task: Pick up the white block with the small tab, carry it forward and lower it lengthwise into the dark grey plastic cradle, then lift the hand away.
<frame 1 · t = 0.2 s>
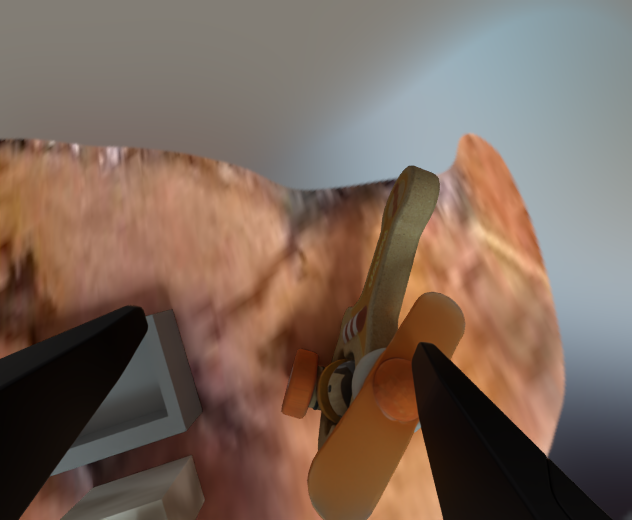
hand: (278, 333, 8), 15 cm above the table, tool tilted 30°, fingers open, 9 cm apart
white block with tab: (150, 492, 22), on the table
toy helicopter: (355, 315, 23), on the table
cradle: (117, 382, 23), on the table
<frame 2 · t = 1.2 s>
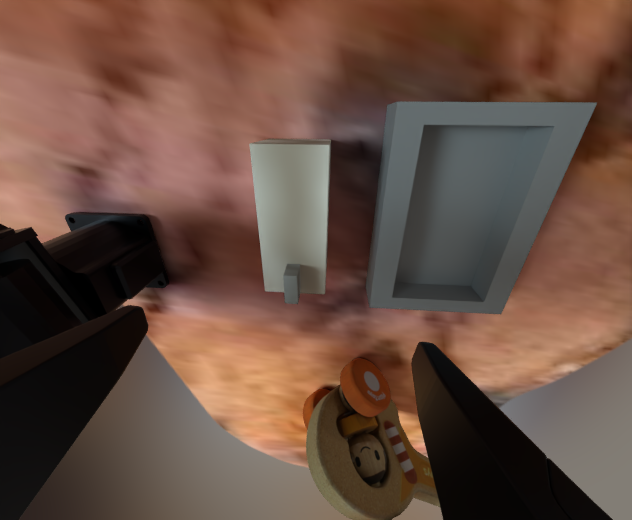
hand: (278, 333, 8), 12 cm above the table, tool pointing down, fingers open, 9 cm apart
white block with tab: (301, 206, 19), on the table
toy helicopter: (384, 400, 29), on the table
cradle: (441, 212, 18), on the table
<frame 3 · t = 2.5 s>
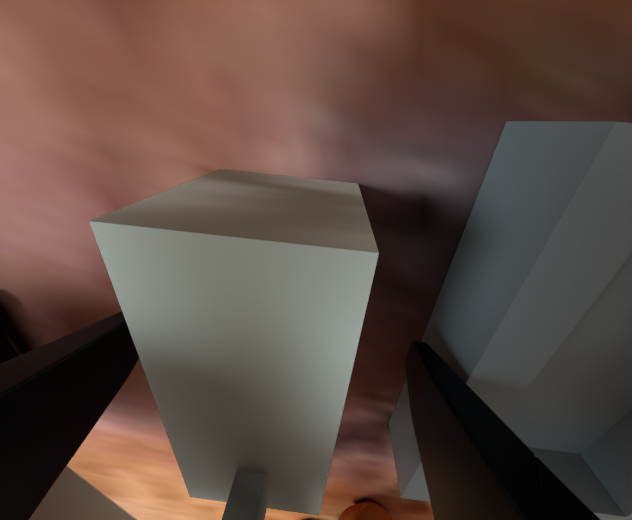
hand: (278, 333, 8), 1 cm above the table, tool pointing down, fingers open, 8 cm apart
white block with tab: (285, 299, 10), on the table
cradle: (559, 339, 9), on the table
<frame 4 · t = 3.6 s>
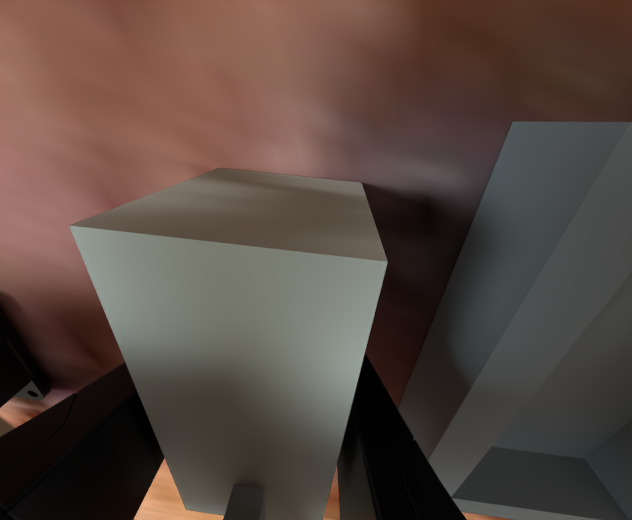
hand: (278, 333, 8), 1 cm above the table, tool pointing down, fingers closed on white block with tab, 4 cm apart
white block with tab: (285, 303, 9), on the table, touching gripper
cradle: (564, 343, 9), on the table
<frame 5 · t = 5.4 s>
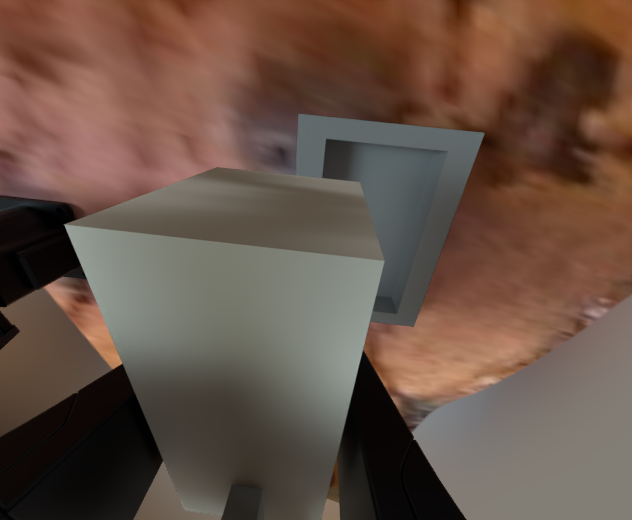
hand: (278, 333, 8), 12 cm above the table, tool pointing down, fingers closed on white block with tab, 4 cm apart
white block with tab: (284, 303, 9), point 10 cm above the table, touching gripper
cradle: (362, 224, 18), on the table
when the fingers open (4 cm above the table, at t = 7.7 s): white block with tab drops 2 cm, resting on cradle.
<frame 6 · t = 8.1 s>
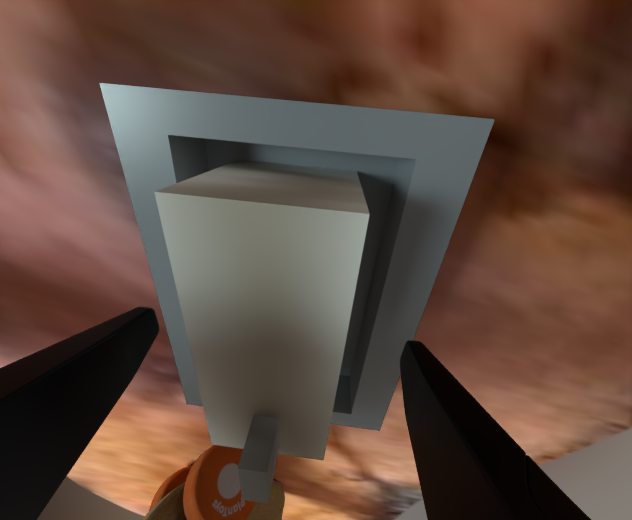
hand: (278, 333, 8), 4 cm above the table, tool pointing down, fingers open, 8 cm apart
white block with tab: (292, 277, 11), point 1 cm above the table, touching cradle
toy helicopter: (274, 482, 23), on the table
cradle: (296, 272, 12), on the table
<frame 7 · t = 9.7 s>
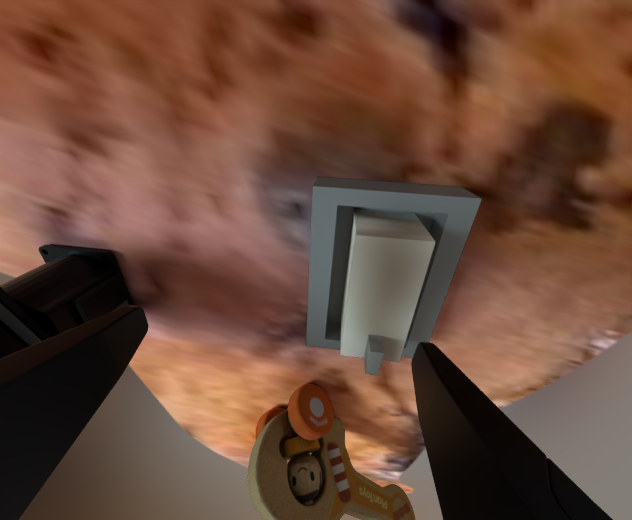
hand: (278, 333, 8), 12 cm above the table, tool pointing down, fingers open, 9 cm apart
white block with tab: (373, 268, 19), point 1 cm above the table, touching cradle
toy helicopter: (335, 421, 31), on the table
cradle: (372, 266, 20), on the table
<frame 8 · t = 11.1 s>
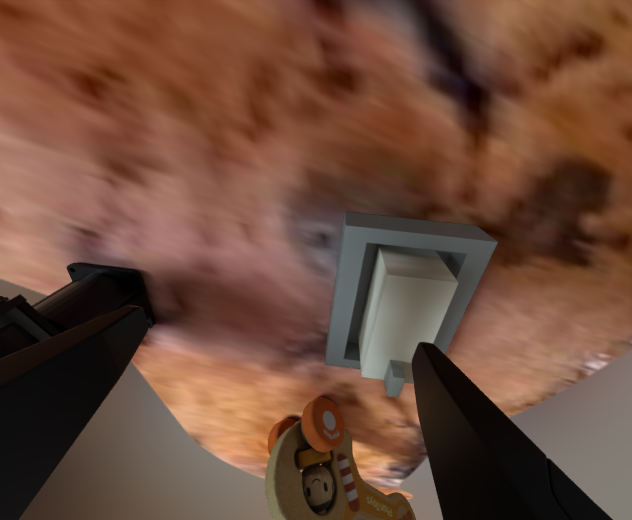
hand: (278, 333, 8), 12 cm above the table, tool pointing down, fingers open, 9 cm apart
white block with tab: (391, 295, 21), point 1 cm above the table, touching cradle
toy helicopter: (342, 431, 32), on the table
cradle: (390, 292, 21), on the table
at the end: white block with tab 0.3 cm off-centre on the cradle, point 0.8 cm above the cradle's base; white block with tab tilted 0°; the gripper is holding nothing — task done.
